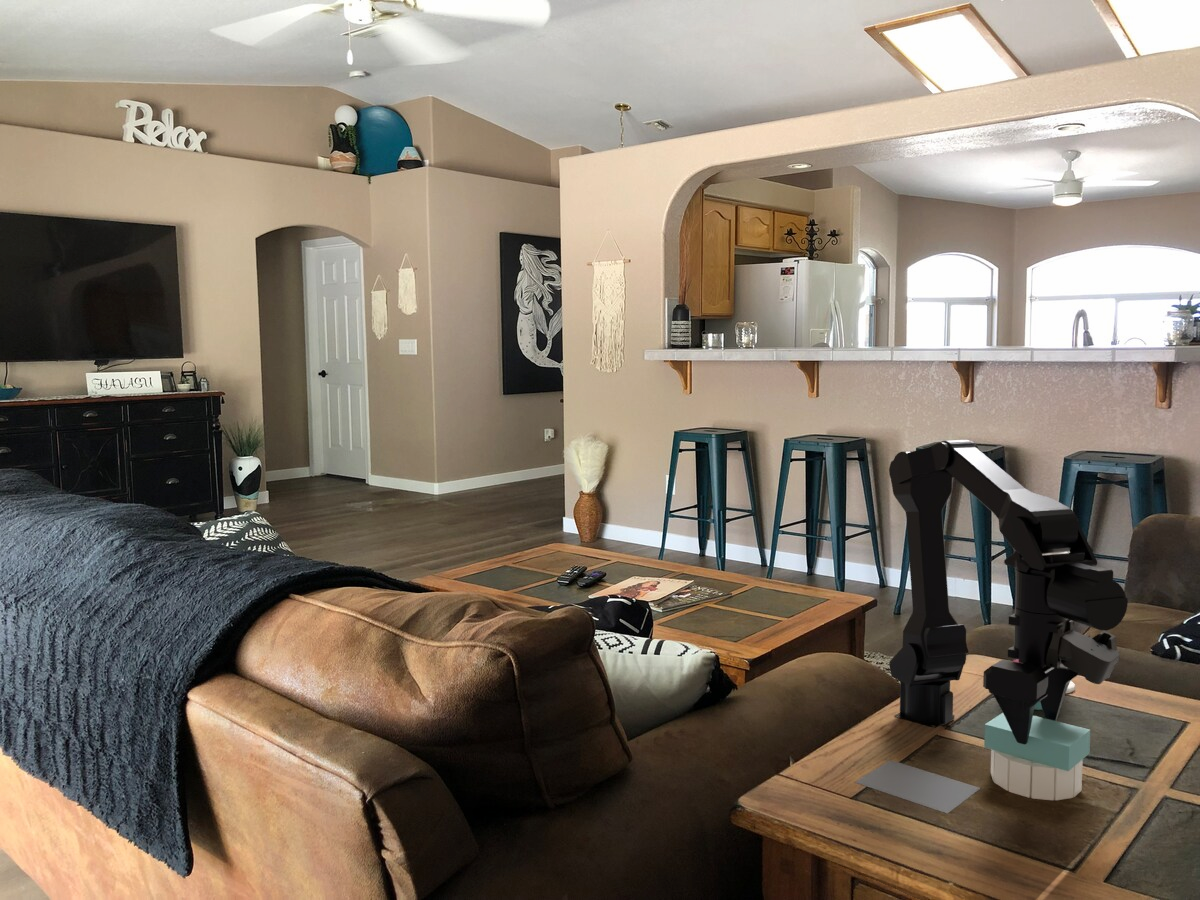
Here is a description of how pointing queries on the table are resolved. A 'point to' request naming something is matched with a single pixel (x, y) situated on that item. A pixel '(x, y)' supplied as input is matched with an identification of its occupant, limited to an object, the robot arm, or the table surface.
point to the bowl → (1035, 777)
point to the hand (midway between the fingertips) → (1036, 732)
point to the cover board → (1041, 742)
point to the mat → (918, 786)
